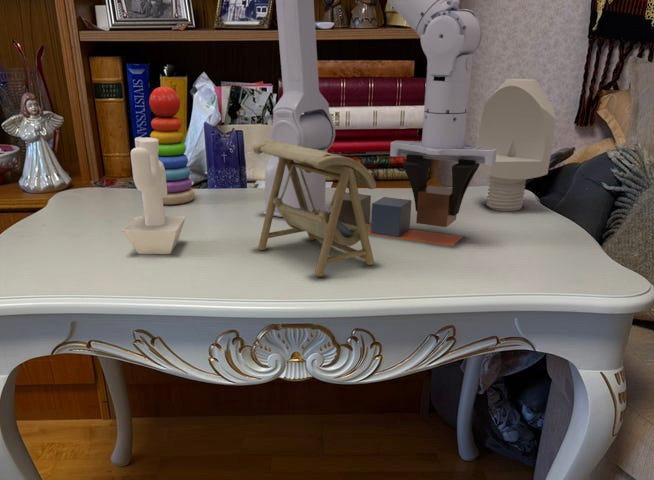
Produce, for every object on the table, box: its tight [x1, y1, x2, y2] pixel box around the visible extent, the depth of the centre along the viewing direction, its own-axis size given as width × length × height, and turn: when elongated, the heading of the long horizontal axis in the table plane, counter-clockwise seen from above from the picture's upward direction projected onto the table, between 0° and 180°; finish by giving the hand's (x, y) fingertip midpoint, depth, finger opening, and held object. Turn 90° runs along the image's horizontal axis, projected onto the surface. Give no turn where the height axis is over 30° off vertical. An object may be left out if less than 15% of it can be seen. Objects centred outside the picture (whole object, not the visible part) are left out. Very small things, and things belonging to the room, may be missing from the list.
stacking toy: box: [148, 86, 195, 206], centre depth 114 cm, size 8×8×19 cm
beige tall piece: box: [475, 78, 557, 212], centre depth 109 cm, size 9×9×20 cm
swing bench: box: [252, 140, 377, 278], centre depth 86 cm, size 15×10×15 cm, turn 34°
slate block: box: [370, 196, 413, 237], centre depth 99 cm, size 4×4×4 cm
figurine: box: [122, 136, 187, 255], centre depth 90 cm, size 7×9×15 cm
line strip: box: [367, 223, 463, 247], centre depth 100 cm, size 21×5×1 cm, turn 61°
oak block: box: [331, 191, 372, 226], centre depth 102 cm, size 4×4×4 cm
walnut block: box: [415, 185, 458, 228], centre depth 95 cm, size 4×4×4 cm
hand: (436, 211), depth 95 cm, fingers closed on walnut block, 4 cm apart
